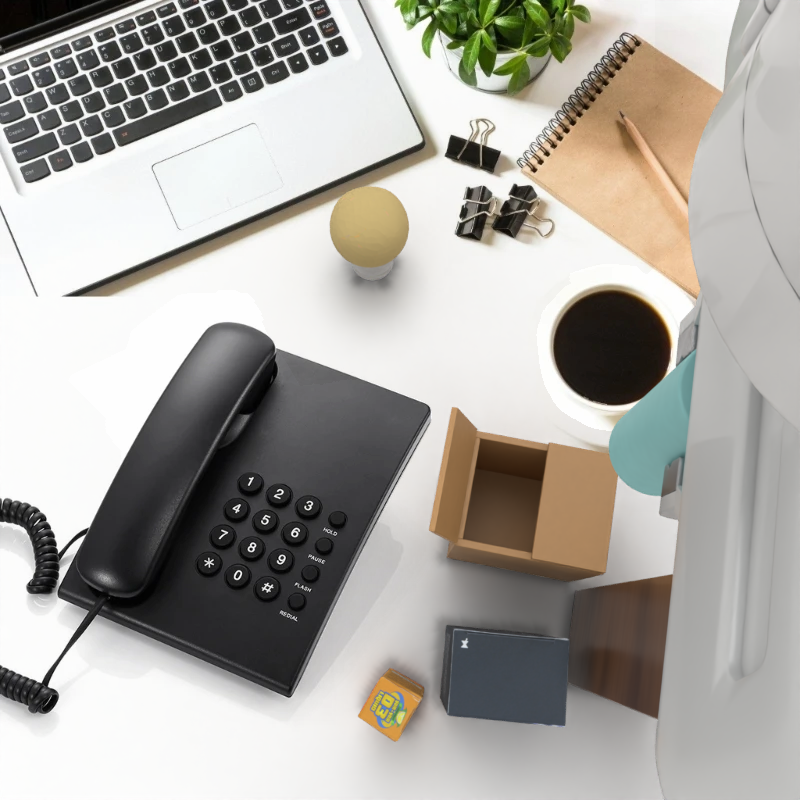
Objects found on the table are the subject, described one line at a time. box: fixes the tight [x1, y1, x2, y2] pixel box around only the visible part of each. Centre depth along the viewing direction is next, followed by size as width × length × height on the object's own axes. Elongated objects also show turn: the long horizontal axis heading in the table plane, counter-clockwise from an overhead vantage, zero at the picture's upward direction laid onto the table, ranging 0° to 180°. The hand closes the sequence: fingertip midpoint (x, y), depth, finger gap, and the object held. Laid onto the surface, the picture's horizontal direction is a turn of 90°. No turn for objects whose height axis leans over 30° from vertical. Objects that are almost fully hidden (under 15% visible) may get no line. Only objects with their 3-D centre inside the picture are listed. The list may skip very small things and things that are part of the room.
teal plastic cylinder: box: [608, 350, 696, 497], centre depth 23 cm, size 3×3×10 cm
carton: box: [446, 430, 619, 583], centre depth 59 cm, size 10×8×12 cm
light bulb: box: [329, 185, 410, 281], centre depth 66 cm, size 6×6×10 cm
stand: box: [568, 573, 673, 721], centre depth 51 cm, size 7×7×25 cm
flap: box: [428, 406, 478, 544], centre depth 52 cm, size 5×8×1 cm
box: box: [439, 624, 570, 728], centre depth 57 cm, size 8×6×11 cm
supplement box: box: [357, 667, 425, 743], centre depth 57 cm, size 3×3×10 cm
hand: (695, 422), depth 24 cm, fingers closed on teal plastic cylinder, 3 cm apart
